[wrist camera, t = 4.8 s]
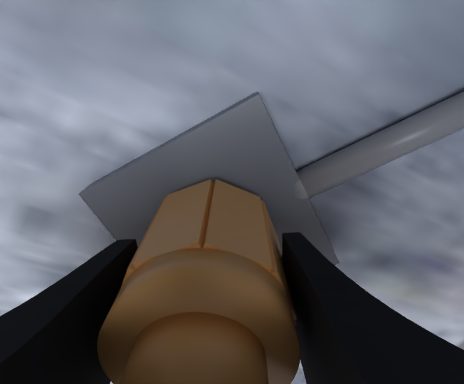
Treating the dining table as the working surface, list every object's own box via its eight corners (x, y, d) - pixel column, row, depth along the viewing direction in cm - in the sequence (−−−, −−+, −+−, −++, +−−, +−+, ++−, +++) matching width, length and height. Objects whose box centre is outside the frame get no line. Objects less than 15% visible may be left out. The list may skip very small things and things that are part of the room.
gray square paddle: (575, -86, 9) (889, -227, 4) (586, 145, 11) (786, 191, 7) (90, 184, 12) (16, 243, 8) (188, 308, 15) (169, 399, 11)
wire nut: (249, 164, 10) (266, 294, 5) (288, 265, 12) (334, 444, 6) (132, 207, 11) (24, 362, 5) (185, 295, 13) (146, 478, 7)
